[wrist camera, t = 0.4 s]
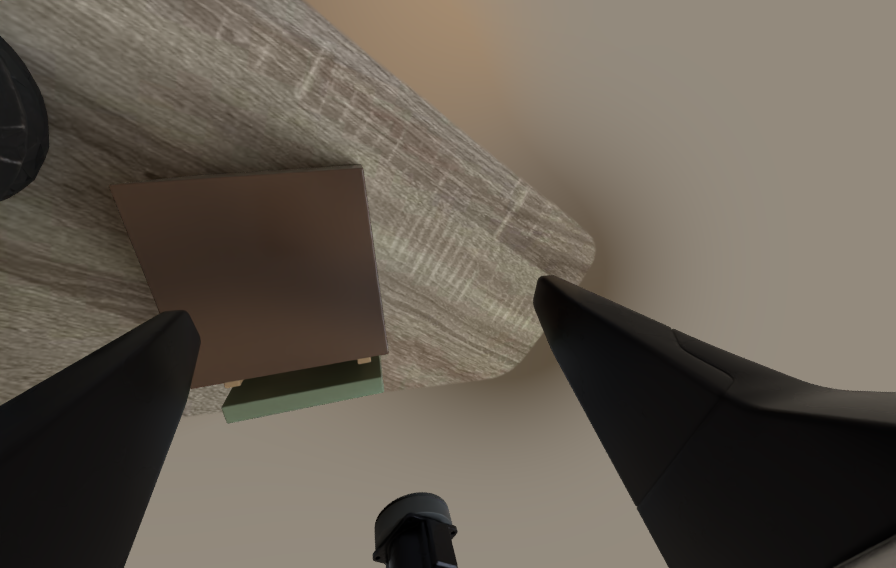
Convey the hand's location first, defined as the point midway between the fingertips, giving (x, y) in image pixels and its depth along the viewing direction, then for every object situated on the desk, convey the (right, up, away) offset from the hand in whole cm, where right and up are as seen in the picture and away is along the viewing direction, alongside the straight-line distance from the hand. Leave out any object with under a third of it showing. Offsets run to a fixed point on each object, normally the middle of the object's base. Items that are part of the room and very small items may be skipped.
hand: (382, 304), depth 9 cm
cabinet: (-9, +3, +15) cm, 18 cm away
